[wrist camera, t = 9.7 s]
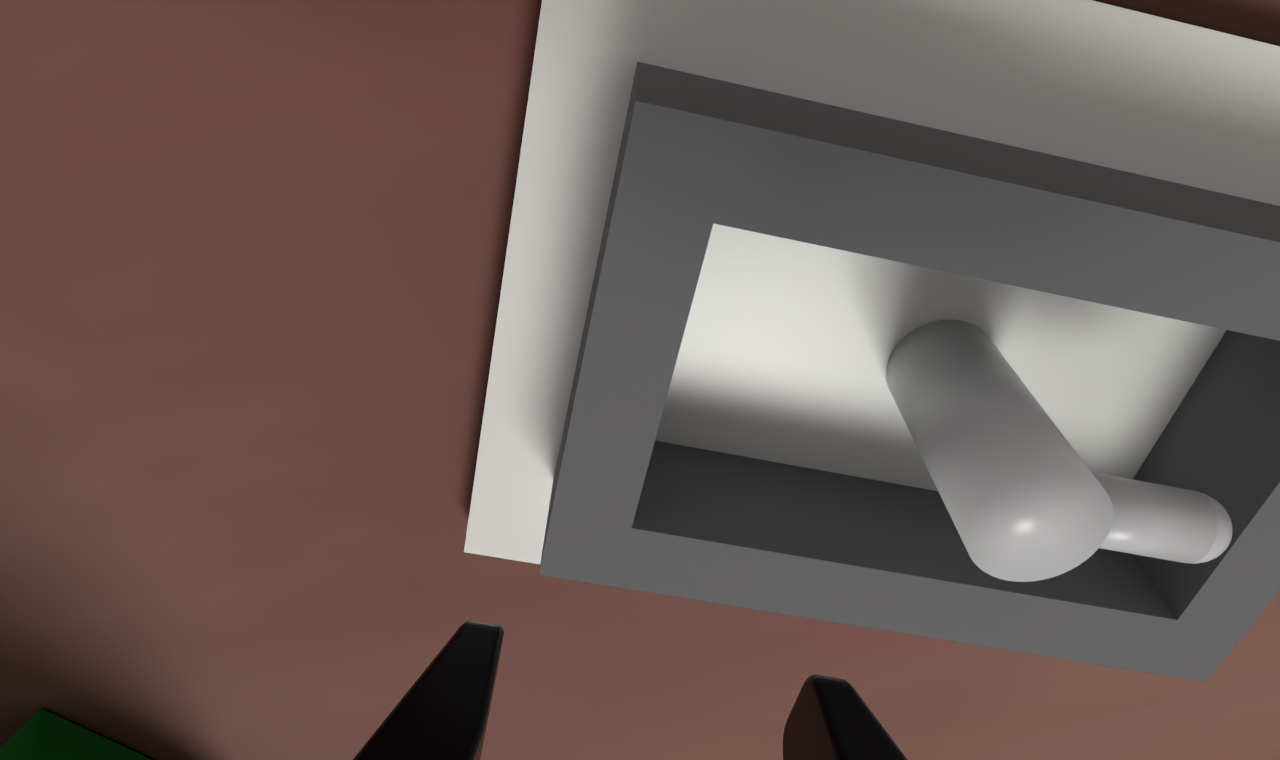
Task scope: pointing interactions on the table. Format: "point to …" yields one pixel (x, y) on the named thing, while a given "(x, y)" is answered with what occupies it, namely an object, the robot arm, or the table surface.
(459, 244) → the table surface
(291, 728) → the table surface
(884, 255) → the grey rectangular frame
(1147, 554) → the hook board
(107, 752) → the milk carton
